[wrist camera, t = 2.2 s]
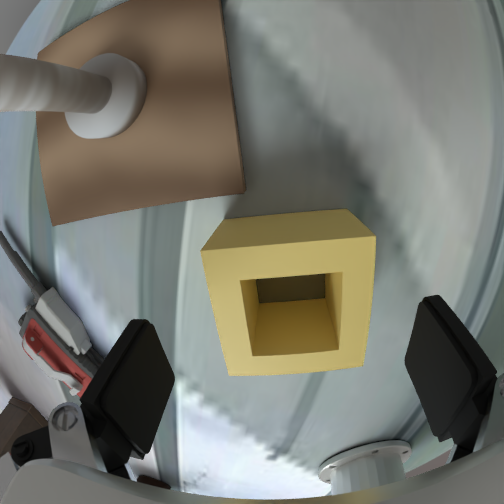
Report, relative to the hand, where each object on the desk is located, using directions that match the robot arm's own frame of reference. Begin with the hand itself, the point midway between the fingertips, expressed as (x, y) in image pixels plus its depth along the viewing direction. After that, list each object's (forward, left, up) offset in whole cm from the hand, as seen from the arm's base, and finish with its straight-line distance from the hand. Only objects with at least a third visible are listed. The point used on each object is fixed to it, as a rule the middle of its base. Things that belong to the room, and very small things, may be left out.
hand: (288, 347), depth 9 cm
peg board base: (+11, +9, -8) cm, 16 cm away
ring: (-1, 0, -8) cm, 8 cm away
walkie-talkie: (-5, +22, -9) cm, 24 cm away
